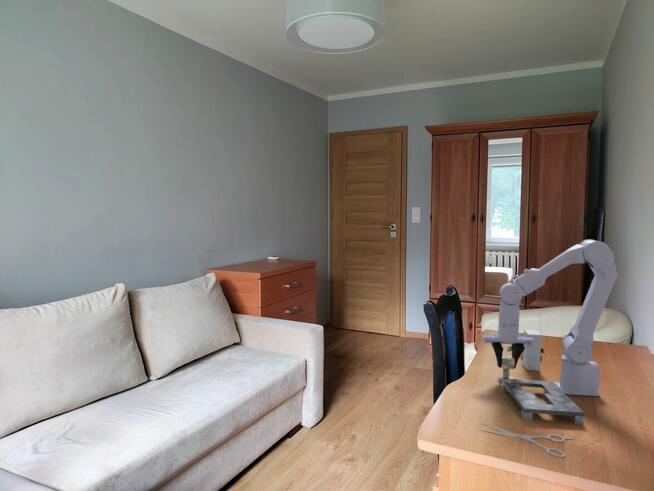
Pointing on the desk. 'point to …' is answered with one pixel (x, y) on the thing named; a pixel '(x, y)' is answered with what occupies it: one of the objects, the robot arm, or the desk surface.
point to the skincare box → (532, 351)
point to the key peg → (506, 367)
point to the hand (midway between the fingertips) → (506, 366)
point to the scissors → (529, 438)
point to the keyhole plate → (532, 404)
